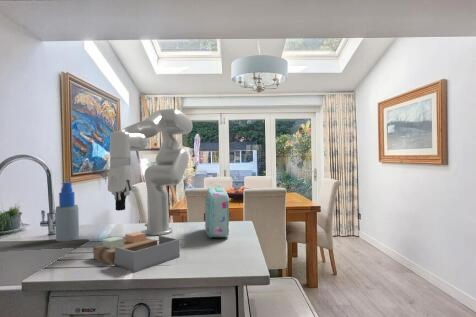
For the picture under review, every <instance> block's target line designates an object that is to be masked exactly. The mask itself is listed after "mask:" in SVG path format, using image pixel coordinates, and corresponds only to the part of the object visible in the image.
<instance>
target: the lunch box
mask: <svg viewBox="0 0 476 317" xmlns="http://www.w3.org/2000/svg"><path fill="white" fill-rule="evenodd" d="M229 199H230V198H229V195H228V192H227V191H226V190H225V188H222V187H221V185H214V187H208V188H207V192H206V195H205V201H204V202H205V206H204V213H203V221H204V223H205V224H204V226H205V227H204V228H205V233H206V235H207V237H208V238H228V237H229V235H230V227H229V225H230V209H229V208H230V206H229V205H230V203H229V201H230V200H229Z"/></svg>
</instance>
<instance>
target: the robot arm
mask: <svg viewBox="0 0 476 317" xmlns="http://www.w3.org/2000/svg"><path fill="white" fill-rule="evenodd" d="M193 128H194V127H193V122H192V120H191V118H190V117H188V115H186V114H185V113H183V112H182V111H180V110H179V109H176V108H167V109H158V110H156V111H154V112H152V114H150V115H149V116H148V117H146V118H145V119H143V120H141V121H140V120H139V122H138V121H137V122H136V123H133V124H131V125H128V126H126V127H124V128H122V129H121V130H114V131H110V133H109V168H108V175H107V191H108V192H110V193H111V194H112V195H113V196H114V201H115V211H118V212H119V211H125V210H126V200H127V196H130V195H131V194H130V192H131V191H132V188H133V179H132V168H131V152H138V151H142V150H144V149H146V148H147V145H148V139H149V138H150V139H151V138H153V137H155V136H157V135H158V134H159V133H160V132H161V137H162V143H161V146H160V148H159V150H158V153H157V154H156V157H155V164H156V165H155V164H154V165H150V166H148V167H147V168H146V169H145V171H144V181H145V184H146V185H145V186H146V194H147V196H146V198H147V200H146V201H147V206H146V208H147V222H146V223H144V227H146V229H145V230H144V233H145V235H146V236H163V235H167V234H170V233H172V232H173V228H172V227H170V226H169V224H170V223H169V221H170V220H169V194H168V190H167V189H166V187H165V186H176V185H179V184H180V183H181V181H182V179H183V176H184V174H185V171H186V169H187V166H188V164H189V153H188V152H187V150H185V149H184V148H180V143H179V141H178V140H177V138H176V137H175V136H176V135H189V134H190V133H191V132H192V130H193Z"/></svg>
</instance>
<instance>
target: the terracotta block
mask: <svg viewBox="0 0 476 317" xmlns="http://www.w3.org/2000/svg"><path fill="white" fill-rule="evenodd" d="M145 238H146V234H145V232H140V231H134V232H131V233H126V234H125V239H126V241H128V242H132V243H135V242H139V241H143V240H145Z"/></svg>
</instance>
